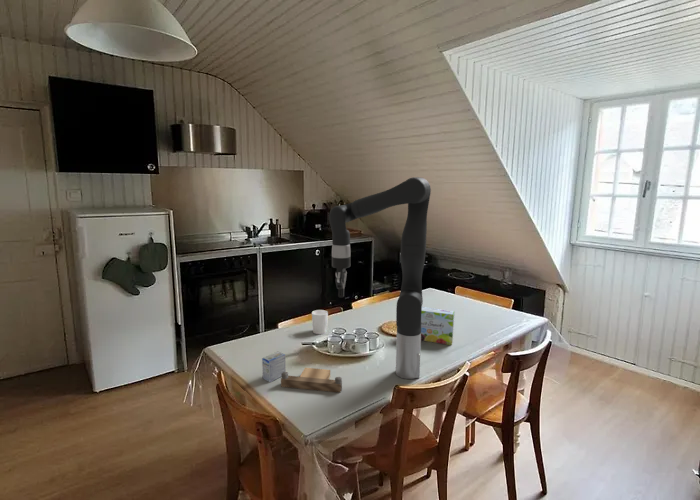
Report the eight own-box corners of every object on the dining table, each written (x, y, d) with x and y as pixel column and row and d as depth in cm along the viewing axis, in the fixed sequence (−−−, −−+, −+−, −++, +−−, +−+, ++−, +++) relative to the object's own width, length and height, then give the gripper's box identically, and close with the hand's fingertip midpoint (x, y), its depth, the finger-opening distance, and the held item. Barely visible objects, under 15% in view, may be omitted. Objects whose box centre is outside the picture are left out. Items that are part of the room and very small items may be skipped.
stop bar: (342, 388, 147) (342, 376, 146) (340, 392, 144) (340, 380, 143) (283, 382, 150) (283, 371, 150) (280, 386, 148) (280, 375, 147)
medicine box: (278, 371, 159) (277, 350, 157) (286, 375, 156) (285, 354, 155) (262, 379, 153) (261, 357, 151) (270, 382, 150) (269, 361, 149)
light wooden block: (330, 377, 156) (330, 369, 155) (325, 387, 148) (325, 380, 147) (305, 374, 157) (305, 367, 157) (299, 385, 149) (299, 377, 149)
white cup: (331, 331, 199) (331, 312, 197) (319, 336, 194) (319, 316, 192) (320, 327, 205) (320, 308, 203) (308, 331, 199) (308, 312, 197)
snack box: (406, 339, 191) (407, 308, 188) (408, 334, 196) (409, 304, 193) (451, 345, 184) (453, 314, 181) (453, 341, 189) (455, 310, 186)
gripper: (347, 259, 155) (347, 302, 158) (353, 252, 168) (352, 292, 171) (328, 258, 156) (328, 301, 159) (335, 252, 169) (335, 292, 172)
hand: (341, 296), depth 165 cm, fingers closed
